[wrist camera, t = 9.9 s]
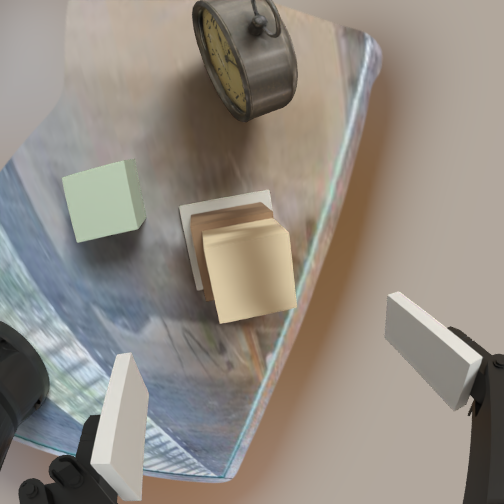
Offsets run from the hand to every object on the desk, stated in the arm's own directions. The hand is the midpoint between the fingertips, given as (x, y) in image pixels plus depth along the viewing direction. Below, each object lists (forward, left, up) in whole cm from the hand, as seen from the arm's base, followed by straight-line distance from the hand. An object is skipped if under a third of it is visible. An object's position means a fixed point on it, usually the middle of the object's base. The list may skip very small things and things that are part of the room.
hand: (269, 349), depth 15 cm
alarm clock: (+3, +17, -19) cm, 26 cm away
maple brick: (+1, 0, -14) cm, 14 cm away
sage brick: (-11, +7, -19) cm, 23 cm away
